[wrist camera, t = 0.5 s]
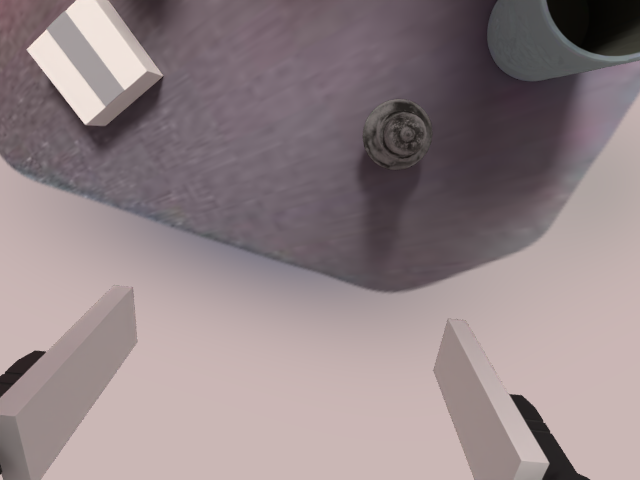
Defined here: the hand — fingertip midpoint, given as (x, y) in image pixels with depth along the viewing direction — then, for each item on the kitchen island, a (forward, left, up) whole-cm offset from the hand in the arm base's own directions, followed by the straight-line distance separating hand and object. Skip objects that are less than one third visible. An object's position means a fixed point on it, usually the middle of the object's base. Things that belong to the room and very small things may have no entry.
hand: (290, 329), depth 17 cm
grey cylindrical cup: (-21, +13, -24) cm, 35 cm away
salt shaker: (-9, +4, -24) cm, 26 cm away
